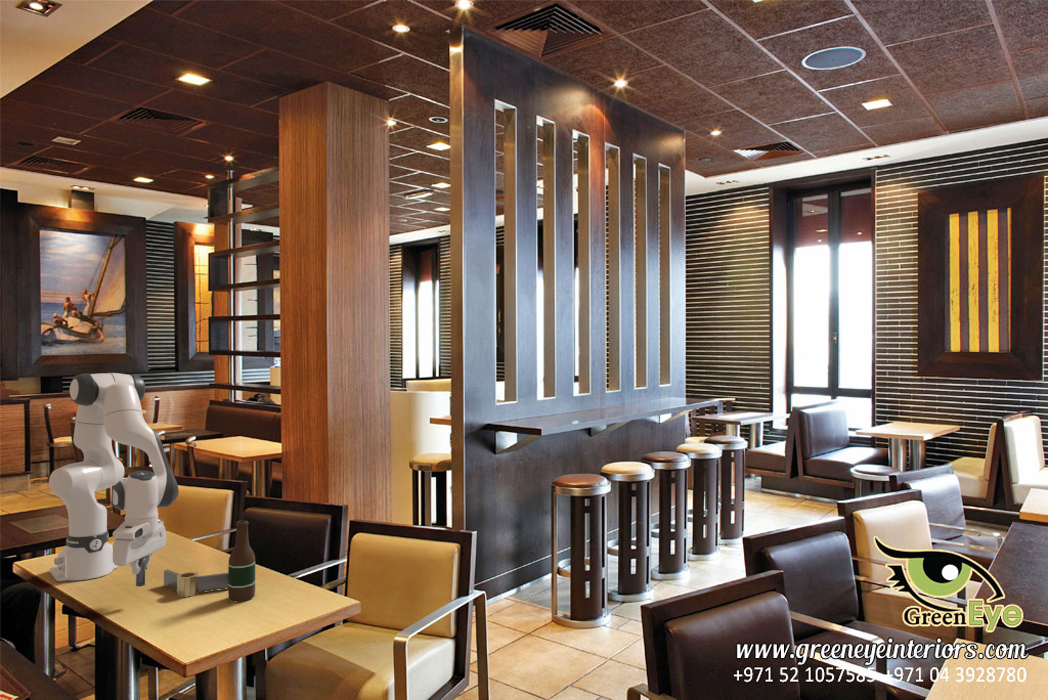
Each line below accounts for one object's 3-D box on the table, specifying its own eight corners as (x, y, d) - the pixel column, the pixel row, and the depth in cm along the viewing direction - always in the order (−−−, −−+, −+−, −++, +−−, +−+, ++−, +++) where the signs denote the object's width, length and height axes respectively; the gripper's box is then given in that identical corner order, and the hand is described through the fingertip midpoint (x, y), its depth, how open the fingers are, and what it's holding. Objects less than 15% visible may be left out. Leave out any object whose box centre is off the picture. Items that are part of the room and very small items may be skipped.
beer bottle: (260, 595, 217) (260, 519, 217) (243, 603, 210) (243, 525, 209) (240, 592, 219) (241, 517, 219) (222, 600, 212) (222, 523, 212)
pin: (134, 585, 208) (134, 555, 208) (142, 583, 210) (143, 553, 210) (138, 587, 207) (138, 557, 207) (146, 584, 209) (147, 555, 209)
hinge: (156, 587, 223) (156, 569, 223) (201, 575, 235) (201, 557, 235) (190, 601, 211) (191, 582, 211) (236, 587, 223) (236, 569, 223)
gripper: (153, 516, 219) (152, 560, 219) (108, 534, 198) (107, 582, 199) (172, 517, 218) (171, 561, 218) (128, 535, 198) (127, 583, 198)
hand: (140, 571), depth 208 cm, fingers closed on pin, 2 cm apart
